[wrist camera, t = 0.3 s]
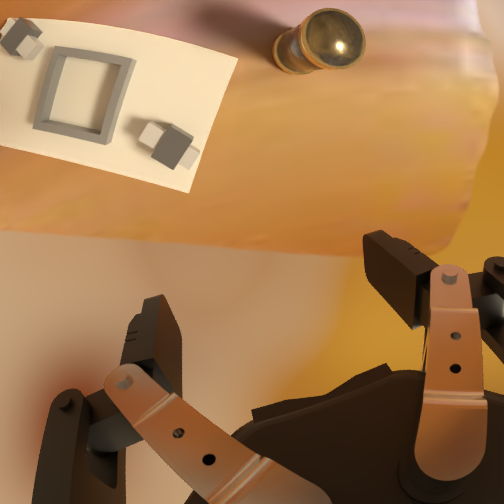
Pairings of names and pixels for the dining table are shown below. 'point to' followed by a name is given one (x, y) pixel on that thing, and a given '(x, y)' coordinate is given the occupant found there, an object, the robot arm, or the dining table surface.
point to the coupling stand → (109, 97)
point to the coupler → (320, 43)
